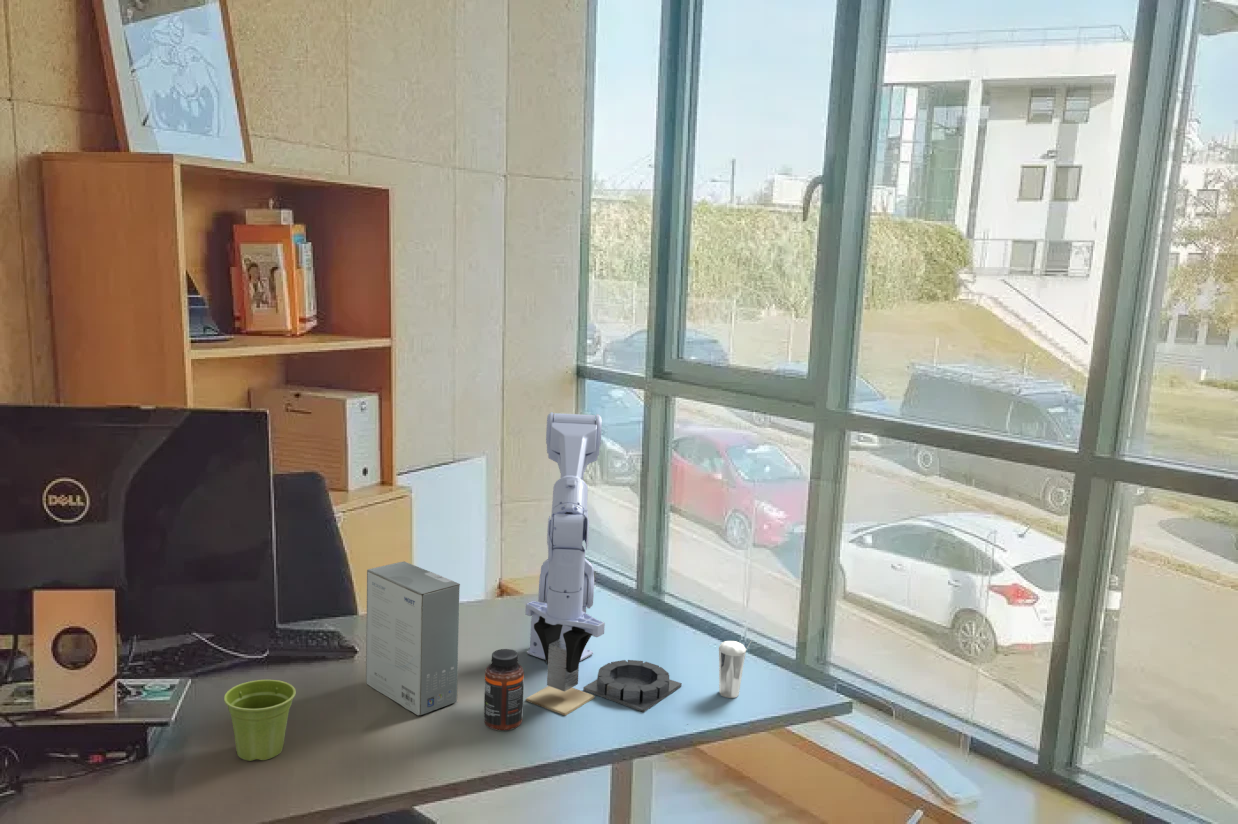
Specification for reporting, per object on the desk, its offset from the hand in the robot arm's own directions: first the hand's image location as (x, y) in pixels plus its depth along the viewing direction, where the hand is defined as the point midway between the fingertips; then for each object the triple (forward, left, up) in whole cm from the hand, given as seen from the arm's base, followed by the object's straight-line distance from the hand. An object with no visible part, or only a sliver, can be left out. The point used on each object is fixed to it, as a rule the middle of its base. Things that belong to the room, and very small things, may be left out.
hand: (561, 666), depth 155 cm
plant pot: (-23, -40, -6) cm, 47 cm away
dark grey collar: (+7, +11, -6) cm, 14 cm away
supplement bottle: (-2, -12, -6) cm, 14 cm away
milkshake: (+21, +20, -6) cm, 30 cm away
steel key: (0, 0, -3) cm, 3 cm away
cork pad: (0, 0, -6) cm, 6 cm away
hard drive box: (-20, -14, -6) cm, 25 cm away
